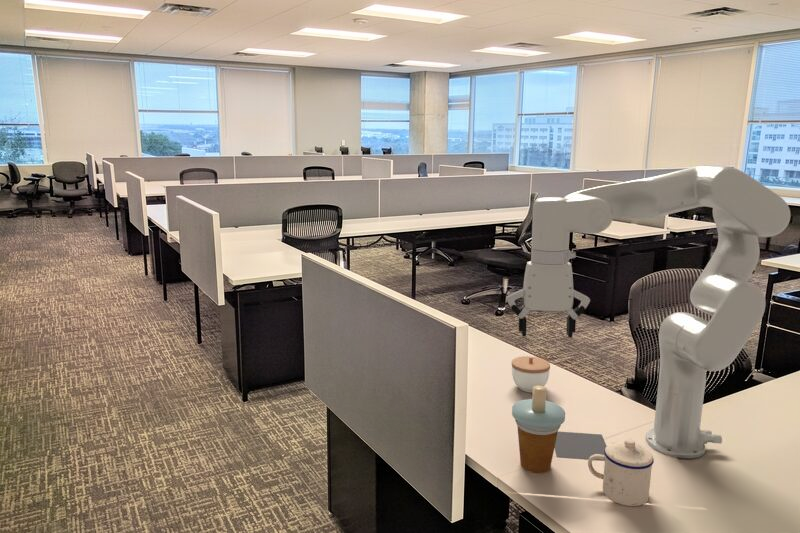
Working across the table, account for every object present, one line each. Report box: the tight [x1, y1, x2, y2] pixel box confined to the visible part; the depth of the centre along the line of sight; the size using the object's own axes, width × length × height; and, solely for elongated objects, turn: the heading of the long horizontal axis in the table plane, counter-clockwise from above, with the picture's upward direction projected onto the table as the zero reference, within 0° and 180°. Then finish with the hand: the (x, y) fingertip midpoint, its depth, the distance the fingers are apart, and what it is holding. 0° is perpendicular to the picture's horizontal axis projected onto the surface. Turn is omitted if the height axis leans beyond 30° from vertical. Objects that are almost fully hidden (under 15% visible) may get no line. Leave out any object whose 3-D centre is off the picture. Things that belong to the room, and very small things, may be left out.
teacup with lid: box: [587, 438, 655, 507], centre depth 115 cm, size 12×9×12 cm
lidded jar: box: [511, 355, 551, 393], centre depth 164 cm, size 11×11×9 cm
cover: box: [511, 386, 566, 428], centre depth 122 cm, size 11×11×6 cm
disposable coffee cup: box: [514, 418, 562, 474], centre depth 124 cm, size 10×10×12 cm
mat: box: [554, 431, 607, 462], centre depth 133 cm, size 12×12×1 cm
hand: (546, 335), depth 124 cm, fingers open, 9 cm apart
